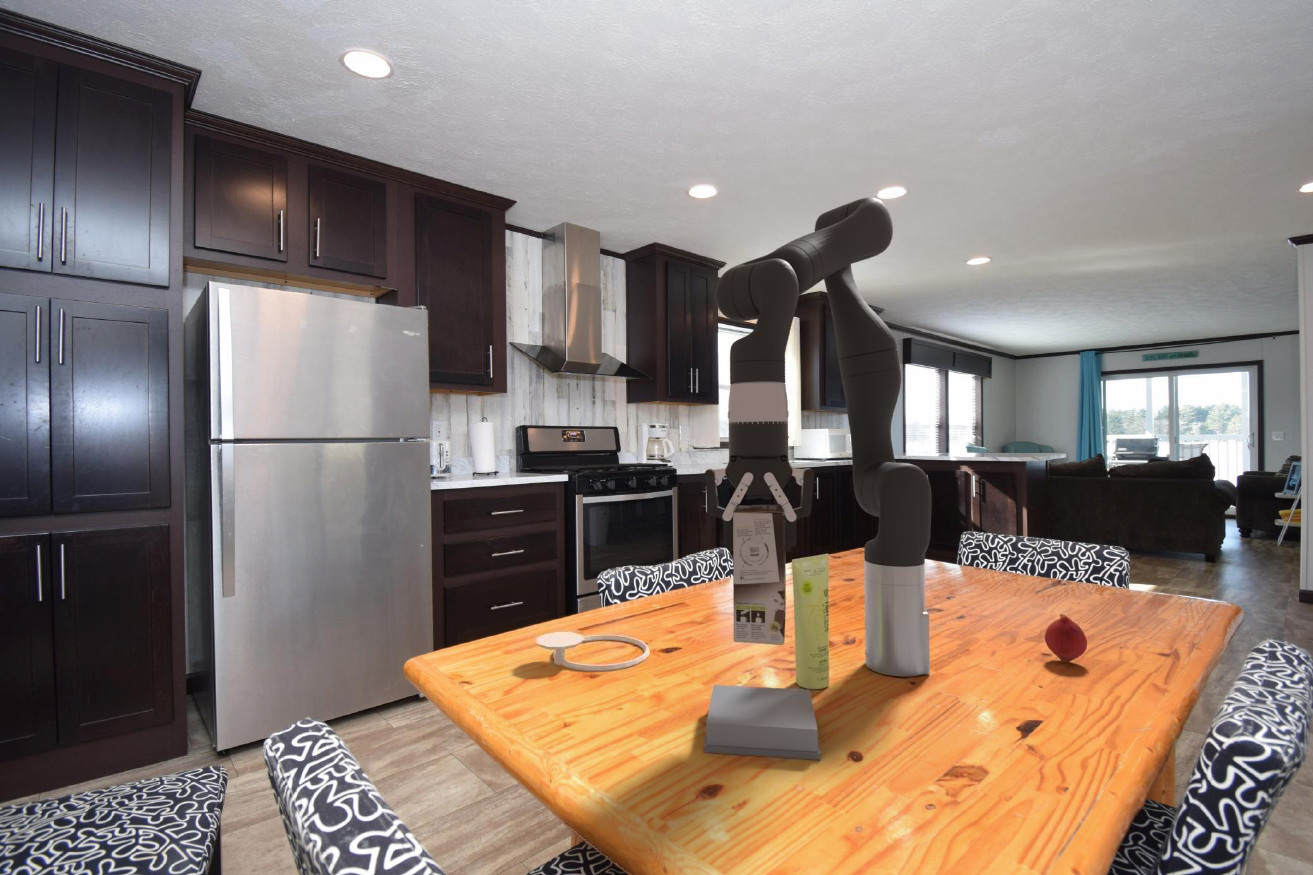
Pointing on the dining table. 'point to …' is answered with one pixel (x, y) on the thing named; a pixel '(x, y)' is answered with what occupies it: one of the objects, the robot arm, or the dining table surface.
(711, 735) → the plate
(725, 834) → the dining table surface
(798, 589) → the tube
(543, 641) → the hand towel holder
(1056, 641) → the onion
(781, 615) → the coffee box
